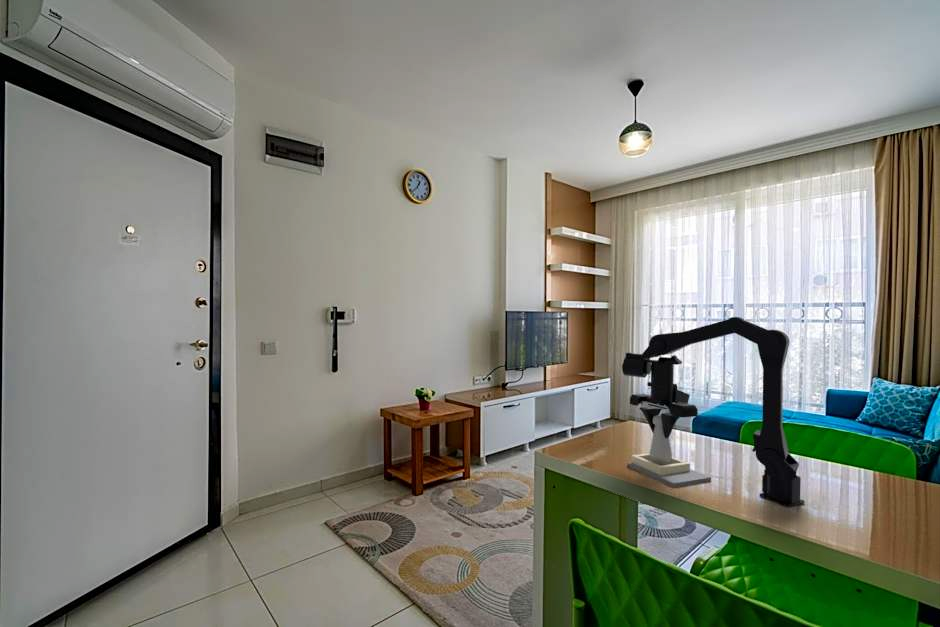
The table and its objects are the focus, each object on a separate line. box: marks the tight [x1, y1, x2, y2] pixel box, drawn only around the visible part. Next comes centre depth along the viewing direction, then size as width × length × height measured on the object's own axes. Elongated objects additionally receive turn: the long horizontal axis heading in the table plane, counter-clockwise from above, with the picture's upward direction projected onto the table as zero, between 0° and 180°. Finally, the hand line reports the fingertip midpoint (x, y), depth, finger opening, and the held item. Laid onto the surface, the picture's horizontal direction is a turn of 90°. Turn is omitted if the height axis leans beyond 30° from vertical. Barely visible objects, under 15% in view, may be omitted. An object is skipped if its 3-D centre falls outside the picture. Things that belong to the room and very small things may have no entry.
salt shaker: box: [649, 414, 673, 466], centre depth 118 cm, size 6×6×13 cm
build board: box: [626, 452, 712, 488], centre depth 116 cm, size 16×13×3 cm
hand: (661, 436), depth 118 cm, fingers closed on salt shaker, 4 cm apart
